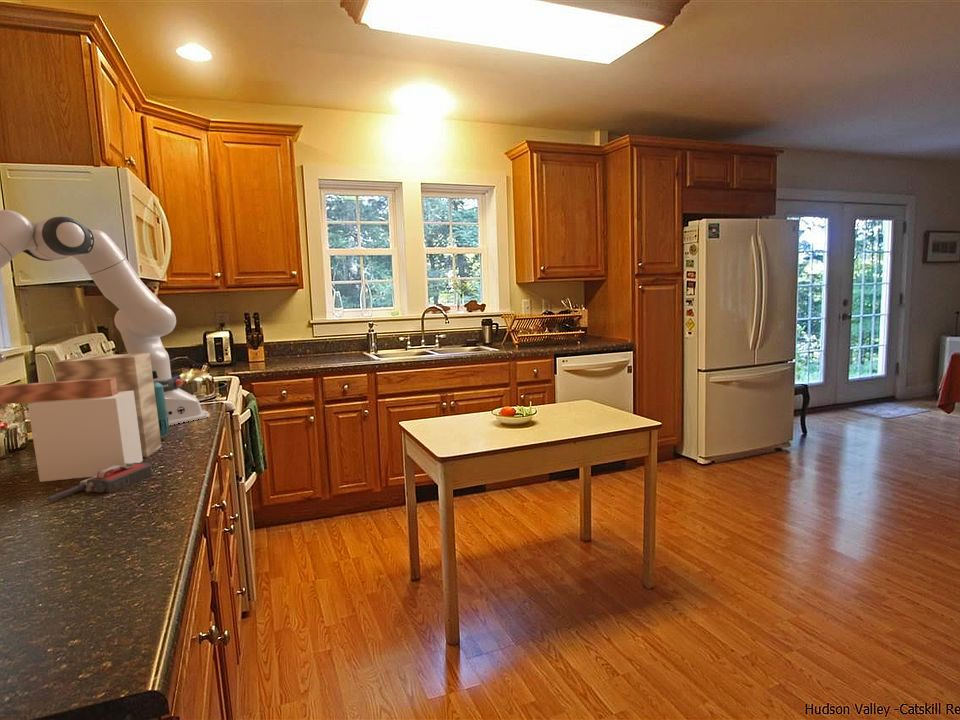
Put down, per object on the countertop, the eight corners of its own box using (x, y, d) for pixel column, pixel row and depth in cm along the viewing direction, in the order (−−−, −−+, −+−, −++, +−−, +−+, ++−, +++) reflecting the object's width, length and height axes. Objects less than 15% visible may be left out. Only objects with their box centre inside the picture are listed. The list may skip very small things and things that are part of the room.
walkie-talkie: (129, 472, 133) (44, 505, 114) (126, 454, 133) (41, 485, 114) (159, 474, 131) (77, 508, 112) (156, 456, 130) (74, 487, 111)
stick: (-4, 404, 128) (-7, 387, 128) (4, 402, 131) (2, 385, 131) (112, 396, 132) (109, 379, 132) (117, 393, 135) (115, 377, 135)
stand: (69, 464, 141) (54, 362, 138) (88, 453, 151) (75, 357, 148) (147, 457, 145) (134, 357, 141) (161, 446, 154) (149, 352, 151)
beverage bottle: (162, 442, 159) (153, 372, 156) (139, 443, 159) (130, 373, 156) (175, 436, 165) (166, 369, 163) (152, 437, 165) (144, 369, 163)
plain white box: (39, 481, 129) (27, 404, 126) (63, 468, 138) (52, 396, 136) (125, 473, 132) (115, 398, 129) (142, 460, 142) (133, 390, 139)
